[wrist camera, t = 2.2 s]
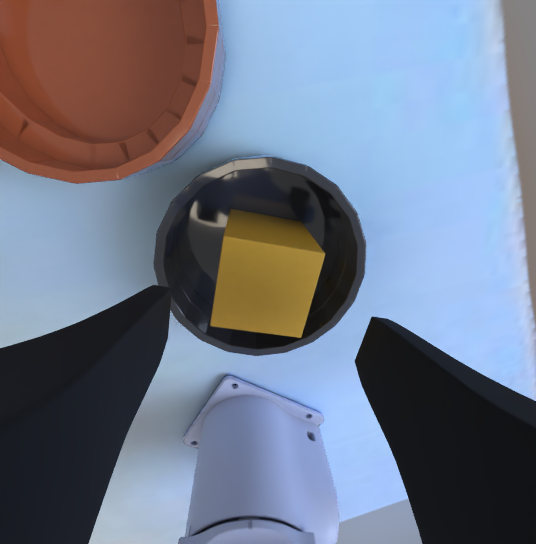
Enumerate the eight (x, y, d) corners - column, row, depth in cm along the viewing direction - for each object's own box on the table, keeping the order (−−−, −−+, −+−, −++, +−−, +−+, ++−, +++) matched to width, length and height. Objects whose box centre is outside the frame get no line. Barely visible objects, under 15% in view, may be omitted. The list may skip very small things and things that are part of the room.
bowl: (269, -1, 14) (278, -61, 10) (165, 212, 18) (141, 232, 14) (0, -220, 11) (-144, -437, 7) (-60, 91, 15) (-179, 68, 11)
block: (301, 221, 18) (326, 253, 13) (285, 285, 20) (301, 338, 14) (230, 208, 17) (223, 235, 12) (220, 275, 19) (210, 326, 14)
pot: (376, 216, 19) (408, 233, 15) (284, 342, 22) (292, 380, 18) (224, 114, 16) (217, 104, 12) (144, 275, 19) (120, 305, 16)
